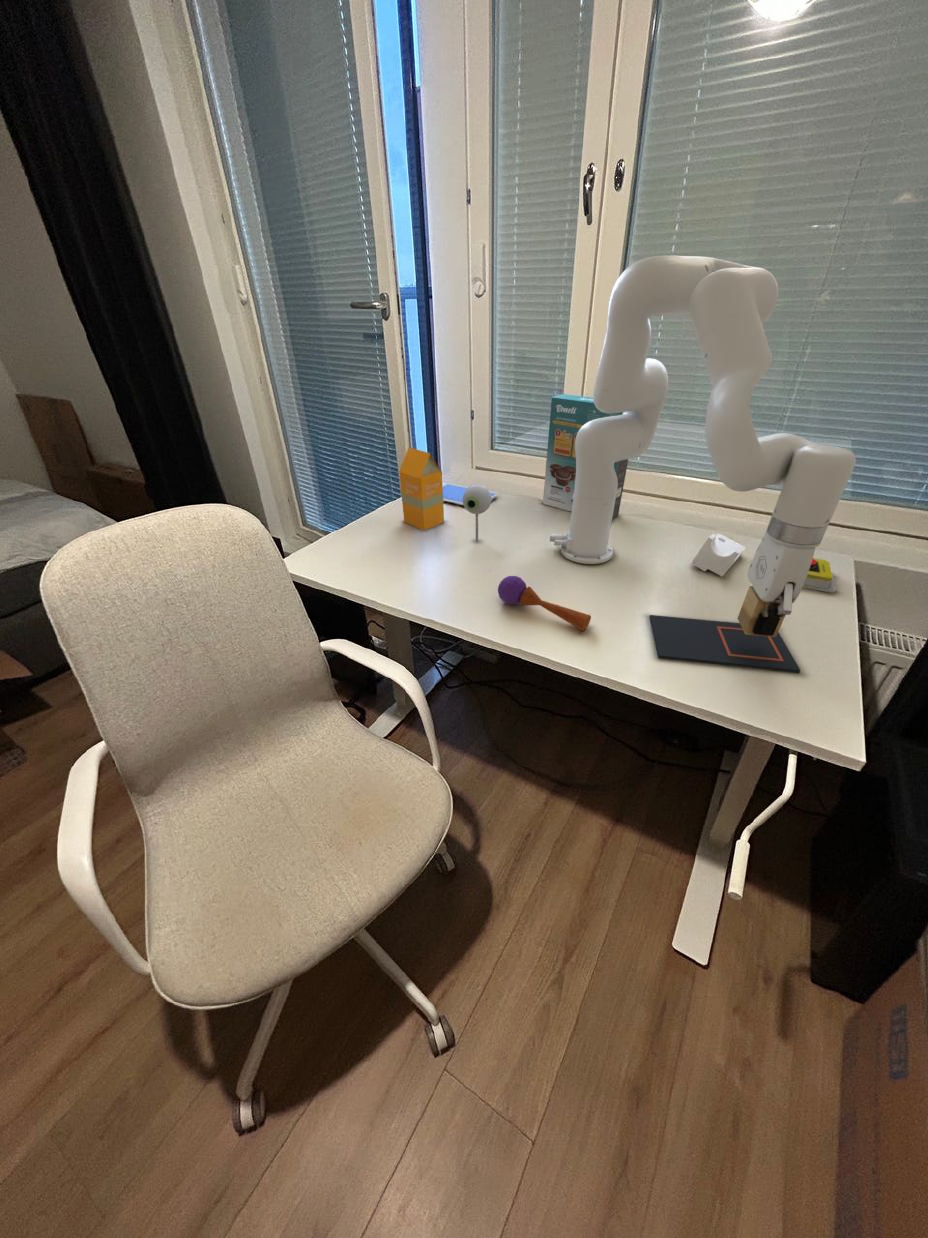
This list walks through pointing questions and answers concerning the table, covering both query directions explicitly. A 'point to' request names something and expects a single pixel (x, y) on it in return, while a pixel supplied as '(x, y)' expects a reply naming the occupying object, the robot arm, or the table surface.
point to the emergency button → (820, 576)
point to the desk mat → (719, 644)
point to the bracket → (718, 554)
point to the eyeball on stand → (476, 501)
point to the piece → (754, 612)
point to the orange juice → (421, 490)
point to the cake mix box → (571, 450)
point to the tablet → (456, 494)
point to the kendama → (538, 601)
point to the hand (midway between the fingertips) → (757, 623)
